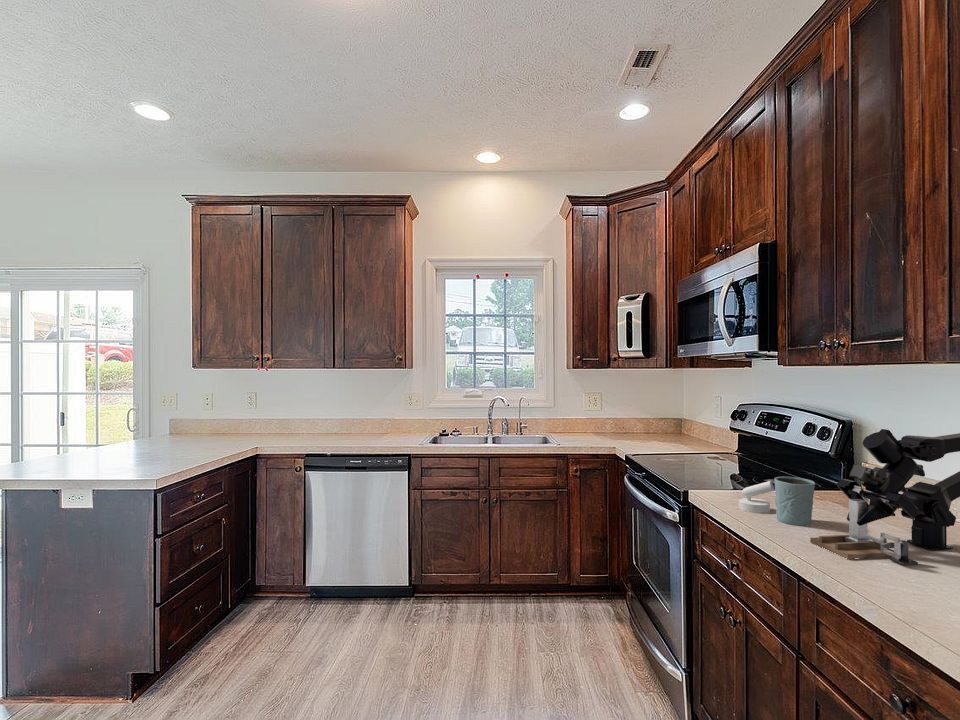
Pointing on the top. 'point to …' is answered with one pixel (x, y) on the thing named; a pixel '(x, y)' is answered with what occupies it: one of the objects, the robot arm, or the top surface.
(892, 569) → the top surface
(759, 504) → the wall hook
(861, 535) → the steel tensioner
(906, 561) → the keeper hook
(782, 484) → the green embossed cup
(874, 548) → the track board
